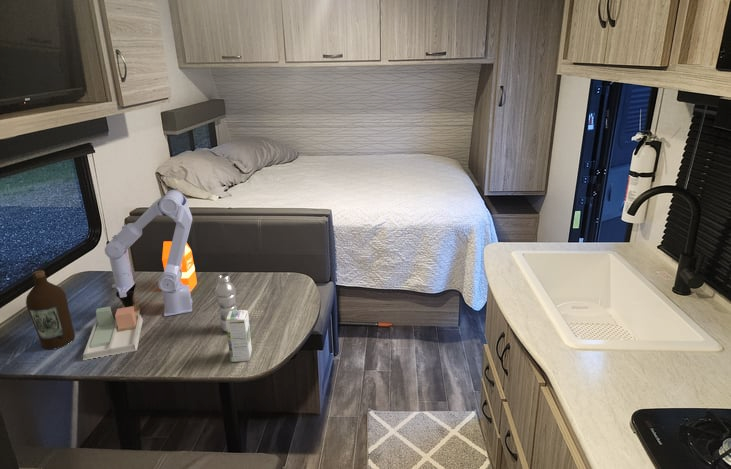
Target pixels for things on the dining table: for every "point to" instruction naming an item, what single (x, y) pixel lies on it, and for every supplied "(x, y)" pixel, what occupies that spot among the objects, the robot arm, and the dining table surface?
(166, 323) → the dining table surface
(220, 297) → the plastic bottle
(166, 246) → the orange juice
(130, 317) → the block
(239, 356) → the syrup box
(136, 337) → the lane board
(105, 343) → the strip
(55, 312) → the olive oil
